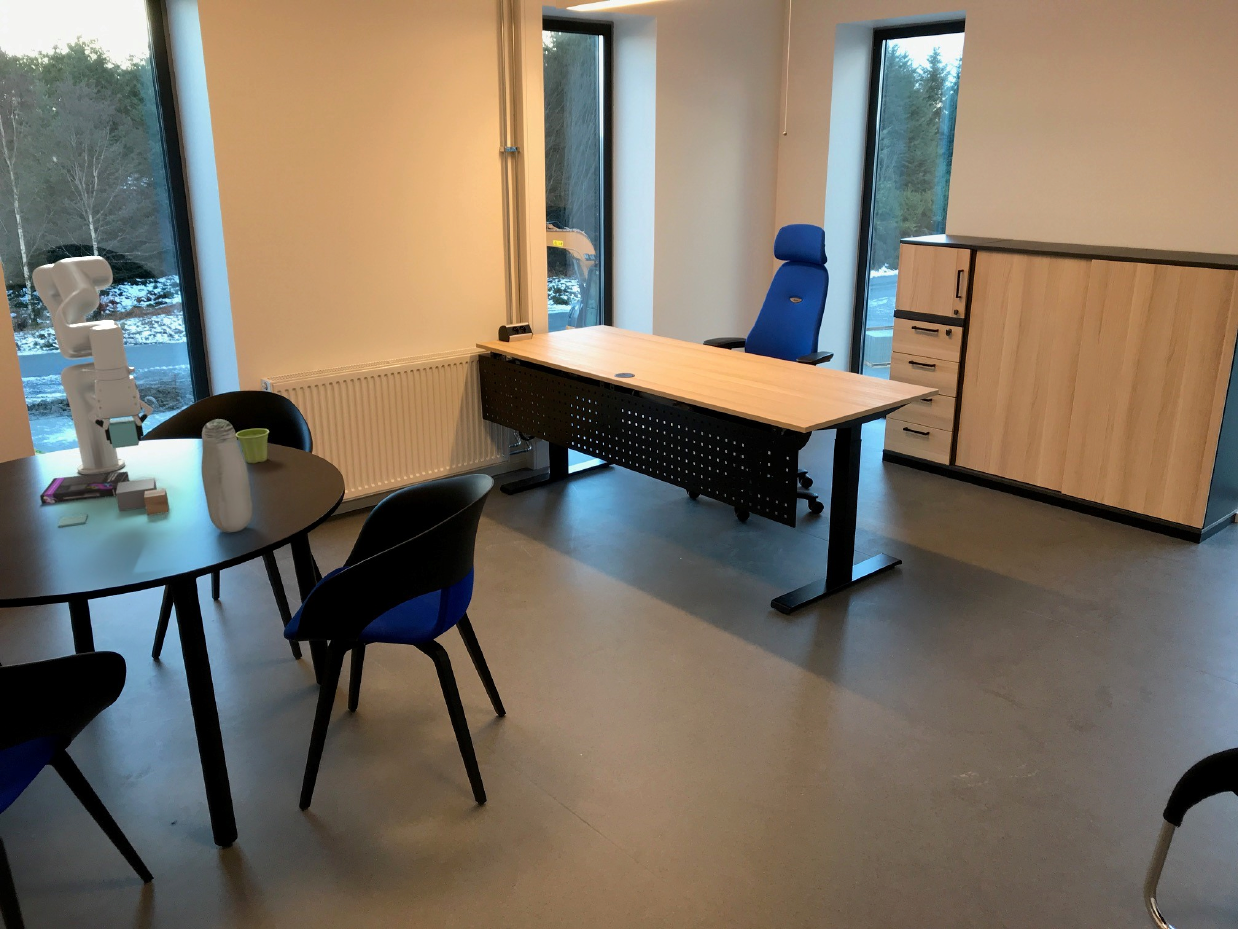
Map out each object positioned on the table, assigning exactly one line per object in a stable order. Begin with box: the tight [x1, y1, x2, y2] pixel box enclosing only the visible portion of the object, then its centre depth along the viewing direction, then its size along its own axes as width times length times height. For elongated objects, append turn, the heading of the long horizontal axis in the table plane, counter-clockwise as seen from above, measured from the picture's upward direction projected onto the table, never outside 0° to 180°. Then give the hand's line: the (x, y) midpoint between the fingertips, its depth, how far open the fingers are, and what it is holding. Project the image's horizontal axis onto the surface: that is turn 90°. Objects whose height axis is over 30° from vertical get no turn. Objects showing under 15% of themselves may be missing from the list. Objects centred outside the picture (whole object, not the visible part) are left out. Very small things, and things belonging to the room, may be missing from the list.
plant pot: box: [235, 428, 270, 464], centre depth 297 cm, size 9×9×9 cm
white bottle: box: [200, 418, 253, 533], centre depth 241 cm, size 10×10×28 cm
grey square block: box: [115, 477, 158, 512], centre depth 265 cm, size 9×9×5 cm
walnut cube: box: [144, 488, 170, 516], centre depth 259 cm, size 5×5×5 cm
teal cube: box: [109, 417, 140, 449], centre depth 259 cm, size 6×6×6 cm
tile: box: [57, 513, 88, 528], centre depth 254 cm, size 6×6×1 cm
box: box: [39, 471, 130, 504], centre depth 275 cm, size 14×4×20 cm
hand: (125, 440), depth 260 cm, fingers closed on teal cube, 6 cm apart
